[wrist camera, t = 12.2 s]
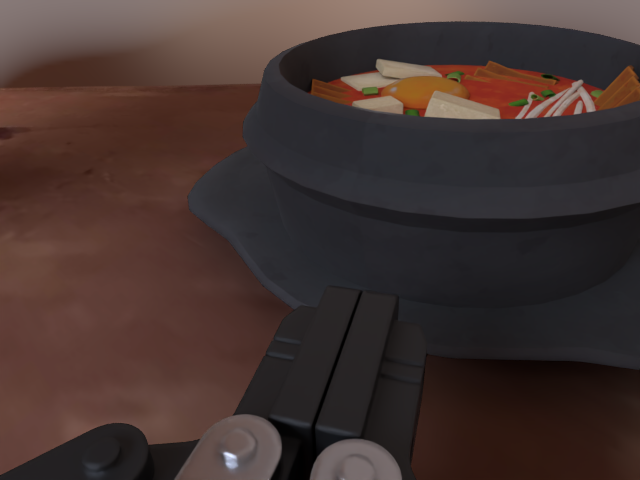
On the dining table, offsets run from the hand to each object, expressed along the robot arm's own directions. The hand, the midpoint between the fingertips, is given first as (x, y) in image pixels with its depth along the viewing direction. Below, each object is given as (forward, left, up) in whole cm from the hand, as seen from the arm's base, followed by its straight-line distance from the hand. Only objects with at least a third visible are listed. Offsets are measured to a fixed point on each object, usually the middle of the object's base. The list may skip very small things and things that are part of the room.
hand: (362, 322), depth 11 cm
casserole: (0, +13, -6) cm, 14 cm away
